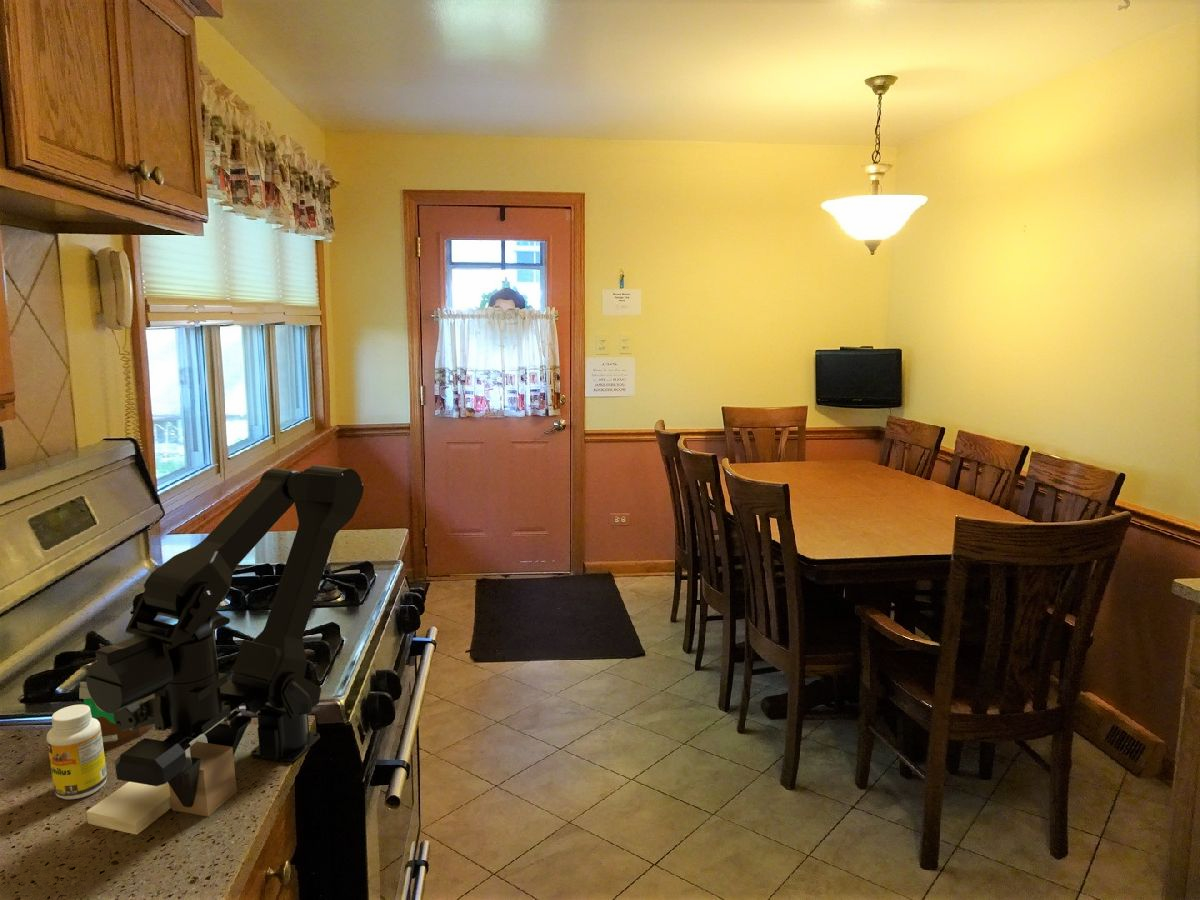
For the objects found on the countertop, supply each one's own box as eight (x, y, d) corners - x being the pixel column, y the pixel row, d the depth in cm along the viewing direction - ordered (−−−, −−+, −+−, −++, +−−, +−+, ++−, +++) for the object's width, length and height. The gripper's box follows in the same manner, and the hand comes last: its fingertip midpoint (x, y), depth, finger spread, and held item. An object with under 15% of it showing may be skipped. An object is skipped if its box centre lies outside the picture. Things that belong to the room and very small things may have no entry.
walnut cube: (201, 785, 102) (197, 741, 101) (236, 791, 101) (232, 746, 99) (172, 810, 97) (166, 764, 96) (208, 816, 96) (203, 770, 95)
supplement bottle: (45, 793, 100) (33, 716, 98) (91, 770, 105) (81, 696, 103) (70, 807, 98) (59, 728, 96) (117, 783, 102) (107, 707, 100)
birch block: (137, 791, 101) (135, 776, 101) (184, 801, 99) (182, 786, 99) (88, 826, 95) (86, 811, 94) (137, 838, 93) (135, 822, 92)
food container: (133, 754, 108) (124, 684, 106) (87, 754, 109) (77, 684, 107) (181, 707, 121) (174, 643, 119) (140, 706, 121) (132, 643, 119)
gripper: (189, 632, 106) (201, 742, 109) (65, 703, 89) (83, 831, 92) (264, 641, 104) (274, 753, 107) (152, 716, 86) (168, 848, 89)
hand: (204, 792), depth 99 cm, fingers closed on walnut cube, 5 cm apart
